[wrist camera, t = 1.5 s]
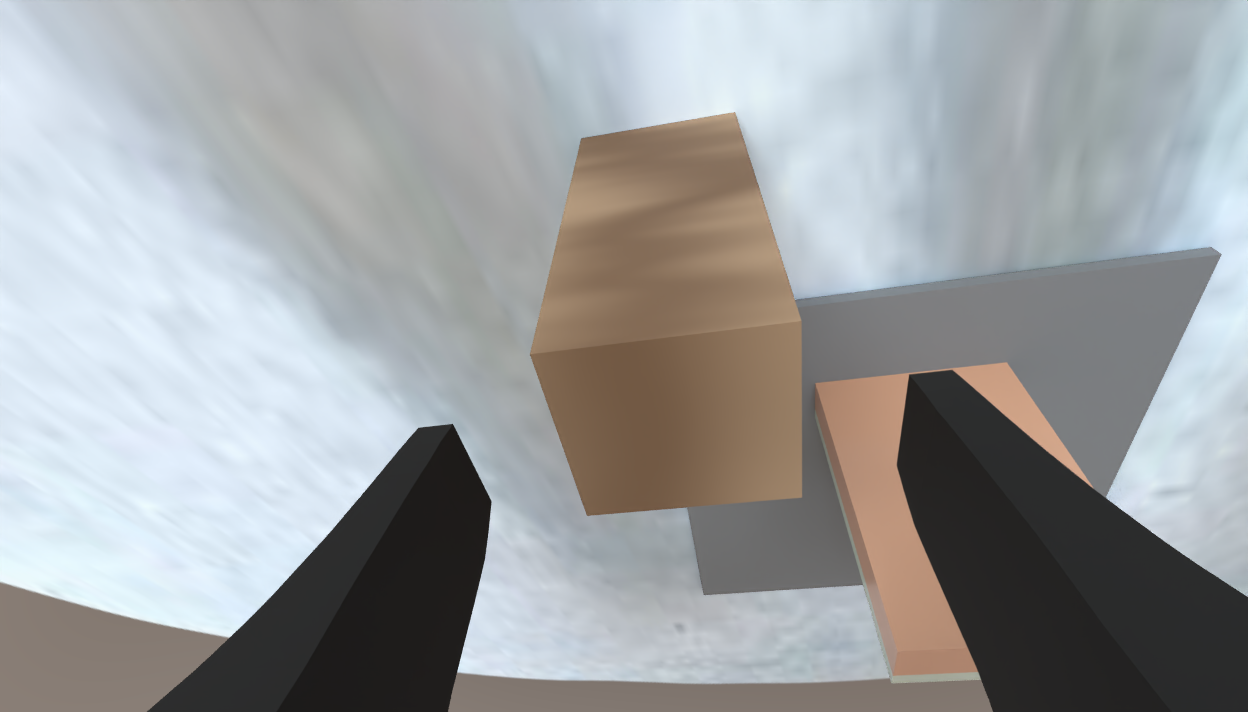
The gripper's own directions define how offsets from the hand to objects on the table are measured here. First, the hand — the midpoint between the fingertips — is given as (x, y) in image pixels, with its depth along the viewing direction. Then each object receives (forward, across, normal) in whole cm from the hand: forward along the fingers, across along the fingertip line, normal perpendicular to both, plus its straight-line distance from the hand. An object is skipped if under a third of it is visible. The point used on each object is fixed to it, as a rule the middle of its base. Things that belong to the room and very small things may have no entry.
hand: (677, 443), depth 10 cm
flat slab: (+9, -7, +8) cm, 14 cm away
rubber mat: (+9, -7, +12) cm, 17 cm away
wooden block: (+9, 0, 0) cm, 9 cm away
